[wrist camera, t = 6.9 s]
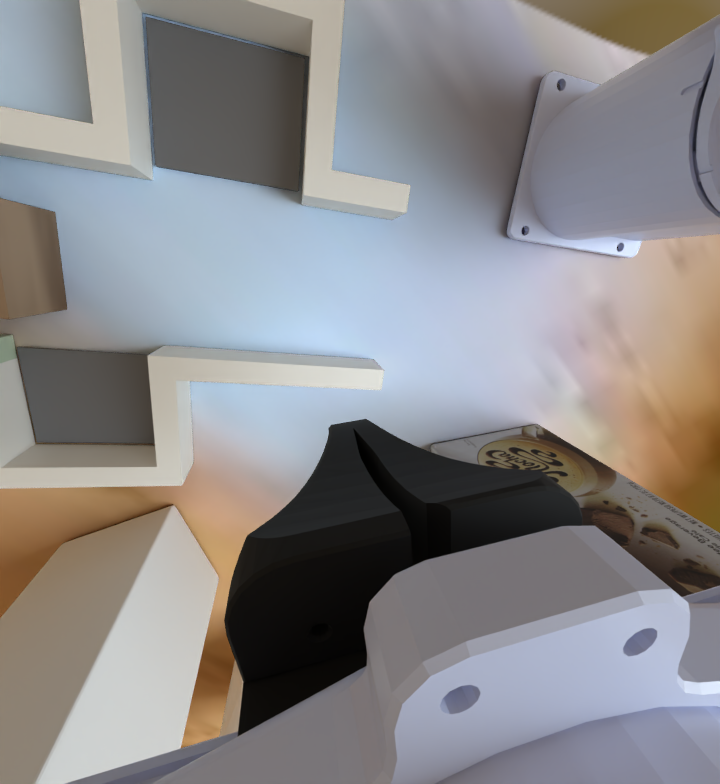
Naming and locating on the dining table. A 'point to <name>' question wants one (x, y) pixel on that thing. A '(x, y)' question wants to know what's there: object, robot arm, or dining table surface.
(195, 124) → the trap channel
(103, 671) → the milk carton
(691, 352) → the dining table surface
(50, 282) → the walnut block
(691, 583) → the coffee box
